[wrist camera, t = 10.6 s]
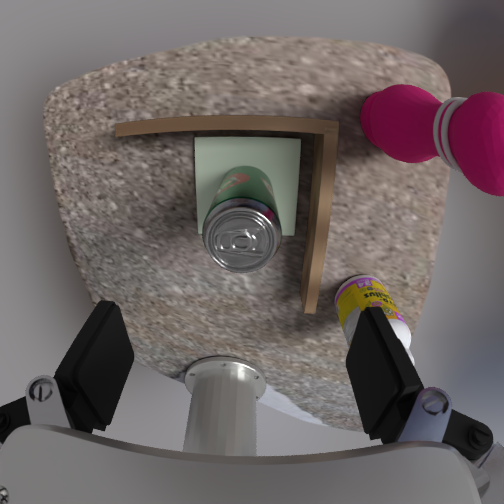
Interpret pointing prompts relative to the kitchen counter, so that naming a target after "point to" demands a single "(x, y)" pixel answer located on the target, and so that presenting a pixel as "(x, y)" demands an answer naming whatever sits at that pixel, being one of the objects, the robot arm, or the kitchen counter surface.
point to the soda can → (243, 221)
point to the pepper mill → (440, 131)
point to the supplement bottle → (368, 295)
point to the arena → (320, 182)
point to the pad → (249, 154)
